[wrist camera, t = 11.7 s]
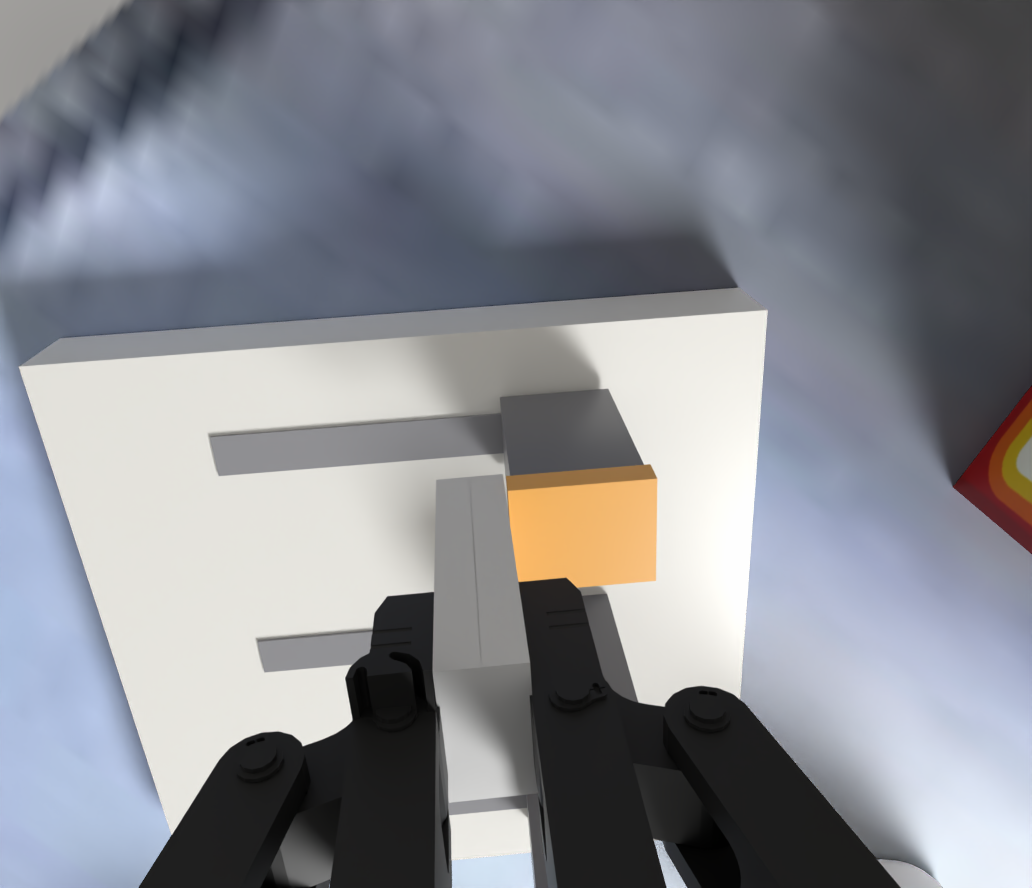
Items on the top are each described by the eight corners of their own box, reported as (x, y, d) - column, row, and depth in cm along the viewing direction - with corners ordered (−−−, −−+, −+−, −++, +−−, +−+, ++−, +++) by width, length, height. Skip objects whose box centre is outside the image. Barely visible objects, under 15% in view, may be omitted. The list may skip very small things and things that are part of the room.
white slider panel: (207, 828, 32) (137, 1041, 25) (59, 338, 24) (-105, 451, 17) (711, 780, 33) (781, 974, 26) (739, 287, 25) (852, 376, 18)
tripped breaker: (502, 478, 24) (514, 593, 19) (495, 393, 23) (507, 490, 18) (612, 469, 24) (655, 580, 19) (611, 384, 23) (657, 478, 18)
